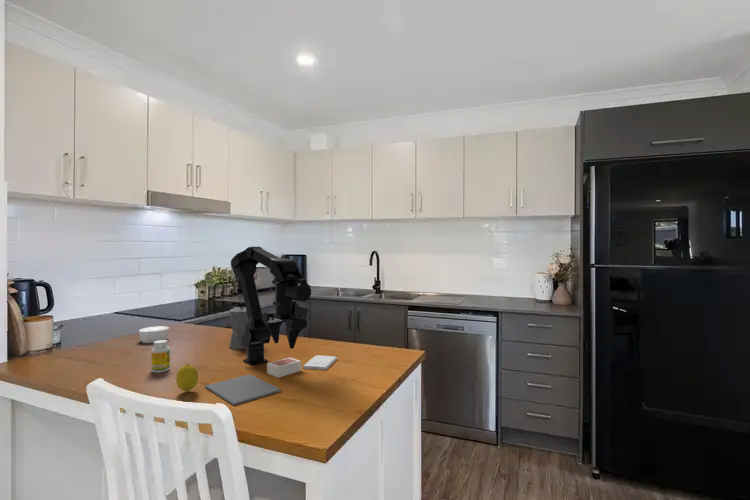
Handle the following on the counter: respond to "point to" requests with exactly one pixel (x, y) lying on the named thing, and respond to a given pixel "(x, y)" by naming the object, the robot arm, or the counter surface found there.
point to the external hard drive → (320, 362)
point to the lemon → (187, 377)
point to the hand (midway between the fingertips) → (284, 345)
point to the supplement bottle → (160, 356)
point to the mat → (242, 389)
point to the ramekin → (153, 334)
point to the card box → (283, 367)
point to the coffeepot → (238, 326)
